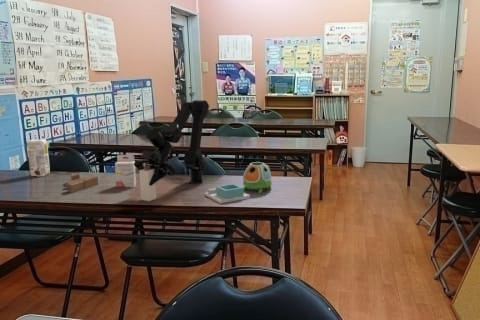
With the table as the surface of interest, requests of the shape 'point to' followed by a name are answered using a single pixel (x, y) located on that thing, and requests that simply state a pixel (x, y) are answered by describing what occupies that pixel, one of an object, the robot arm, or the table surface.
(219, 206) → the table surface
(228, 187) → the cleat stand
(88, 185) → the wooden block set
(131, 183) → the ink cartridge box
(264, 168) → the turtle holder
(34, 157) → the juice carton
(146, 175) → the block
